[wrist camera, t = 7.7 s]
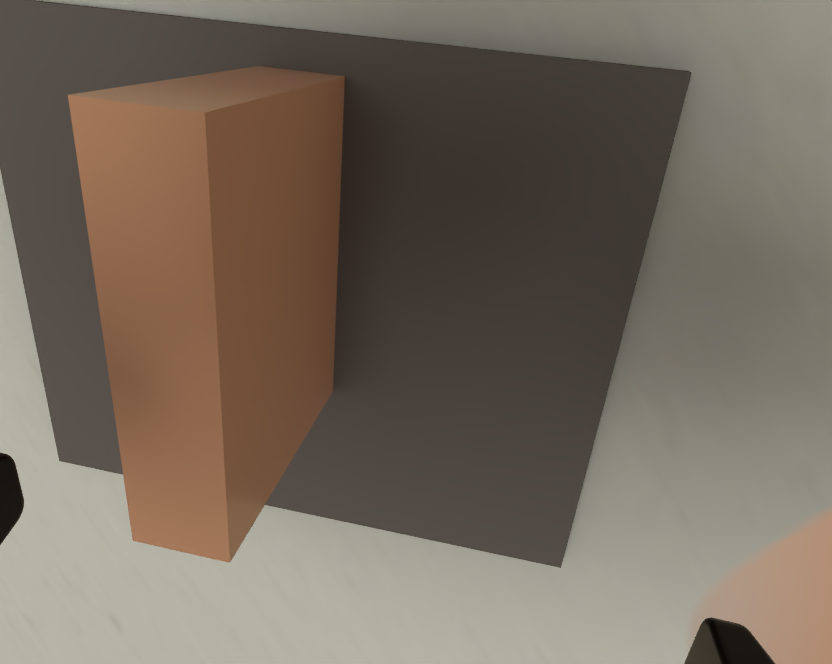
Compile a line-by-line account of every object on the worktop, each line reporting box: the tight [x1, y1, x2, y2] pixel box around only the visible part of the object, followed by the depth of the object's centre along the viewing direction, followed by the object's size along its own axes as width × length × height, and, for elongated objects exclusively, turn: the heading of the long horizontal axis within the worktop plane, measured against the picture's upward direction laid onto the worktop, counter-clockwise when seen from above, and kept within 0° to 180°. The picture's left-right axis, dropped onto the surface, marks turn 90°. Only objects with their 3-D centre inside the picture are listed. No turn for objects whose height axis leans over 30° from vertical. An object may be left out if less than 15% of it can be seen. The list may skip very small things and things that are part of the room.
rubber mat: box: [0, 0, 691, 568], centre depth 19 cm, size 18×15×1 cm
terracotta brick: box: [68, 66, 345, 563], centre depth 15 cm, size 2×9×7 cm, turn 175°
